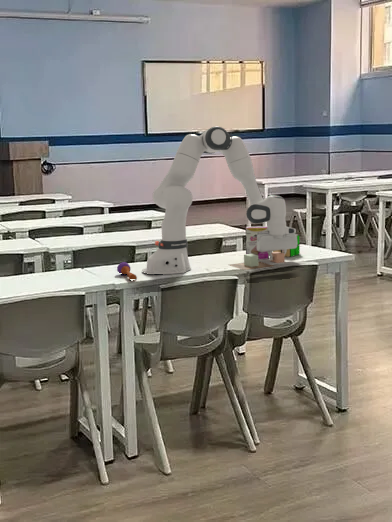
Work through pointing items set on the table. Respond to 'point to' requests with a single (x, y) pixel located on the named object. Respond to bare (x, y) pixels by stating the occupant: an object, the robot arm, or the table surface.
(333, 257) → the table surface
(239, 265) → the baseplate
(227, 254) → the table surface
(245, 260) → the sage green brick
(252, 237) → the candy bar box
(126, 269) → the kendama
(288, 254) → the puzzle cube
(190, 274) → the table surface
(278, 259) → the terracotta brick
